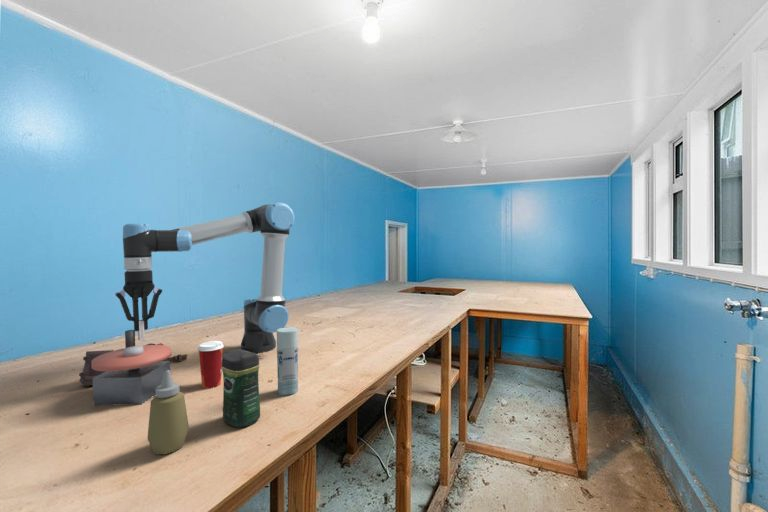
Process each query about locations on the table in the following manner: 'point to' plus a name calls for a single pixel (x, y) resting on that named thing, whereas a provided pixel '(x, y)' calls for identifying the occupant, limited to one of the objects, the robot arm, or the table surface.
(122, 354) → the handwheel
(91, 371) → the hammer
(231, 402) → the coffee jar
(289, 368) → the spray paint can
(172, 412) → the squeeze bottle
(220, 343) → the paper cup
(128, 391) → the grey box
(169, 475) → the table surface
